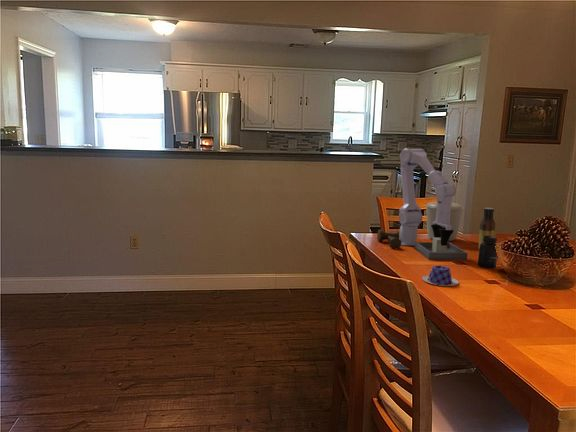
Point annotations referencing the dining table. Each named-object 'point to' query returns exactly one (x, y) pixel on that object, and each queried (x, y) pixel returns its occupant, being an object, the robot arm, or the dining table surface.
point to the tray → (450, 253)
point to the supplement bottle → (488, 253)
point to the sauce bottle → (487, 225)
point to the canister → (454, 218)
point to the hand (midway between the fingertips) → (440, 243)
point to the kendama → (389, 238)
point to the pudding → (440, 276)
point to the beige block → (438, 245)
